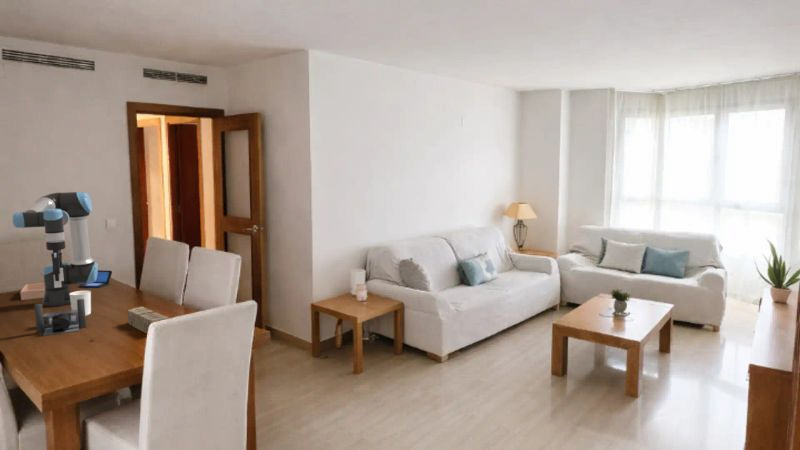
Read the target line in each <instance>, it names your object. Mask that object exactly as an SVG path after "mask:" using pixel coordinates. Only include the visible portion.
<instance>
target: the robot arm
mask: <svg viewBox="0 0 800 450" xmlns="http://www.w3.org/2000/svg"><path fill="white" fill-rule="evenodd" d="M92 211H93V203H92V200H91V198H90V195H89V194H88V193H87V192H80V191H76V192H75V191H69V192H67V191H66V192H53V193H49V194H45V195H44V196H41V197H39V198H38V199H36V200H35V203H34V204H33V205H32V206H31V207H29V208H28V209H27V210H25V211H23V212H22V211H18V212H15V213H13V214H12V223H13V224H12V225H13V226H14V227H15V228H16V229H18V228H19V229H21V228H22V229H25V228H43V227H44V235H43V237H44V238H45V241H46V243H45V247H46V250H47V251H52V252H51V254H50V255H51V256H50V257H51V262H52V263H51V264H48V265H46V266H44V267H43V274H42V275H43V283H44V284H45V294H44V297H43V298H42V300H41V301H42V303H41V304H42V307H50V308H51V307H60V306H65V305H71V302H70V295H69V294H70V293H72V291H71V290H70V285H82V284H85V283H86V284H87V283H93V282H95V281H96V279H97V274H98V270H99V264H98V262H95V259H94V258H92V257H91V248H90V239H89V238H90V237H89V228H88V220H87V219H88V217H89V216H90V213H92ZM67 224H69V229H70V231H69V232H70V240H71V248H72V257H73V259H72V260H71V261H70V264H68V262H67V261H64V262H63V259H62V258H63V256H62V255H63V253H62V252H61V251H62V250H64V249H66V242H65V240H66V239H65V238H66V236H65V229H64V226H65V225H67Z"/></svg>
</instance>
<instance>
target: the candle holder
mask: <svg viewBox="0 0 800 450" xmlns="http://www.w3.org/2000/svg"><path fill="white" fill-rule="evenodd" d="M69 295H70V302H71V303H70V308H71V310H78V307H77V300H78V299H84V304H85V317H87V316H88V315H89V316H90V315H91V313H92V291H91V290H77V291H73V292H72V291H71V293H70V294H69Z"/></svg>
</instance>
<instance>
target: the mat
mask: <svg viewBox="0 0 800 450" xmlns="http://www.w3.org/2000/svg"><path fill="white" fill-rule="evenodd" d="M79 329H80V328H79V324H74V325H70V326H69V328H68V329H67V330H65V331H64V332H58V333H53V328H44V331H45V332H44V333H43V334H42V335H43V336H44V337H45V336H53V335H59V334H67V333H74V332H79Z"/></svg>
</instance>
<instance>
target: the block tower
mask: <svg viewBox="0 0 800 450" xmlns="http://www.w3.org/2000/svg"><path fill="white" fill-rule="evenodd" d="M127 317H128V325H129V326H131V327H133V328H135V329H137V330H138V331H141V332H143V333H145V334H147V331H148V327H149V325H150V324H151V323H153V322H156V321H160V320H164V319H168V320H169V317H168V316H166V315H163V314H161V313H159V312H154V311H153V310H150V309H148V308H147V307H144V306H138V307H134V308H131V309H128V310H127Z"/></svg>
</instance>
